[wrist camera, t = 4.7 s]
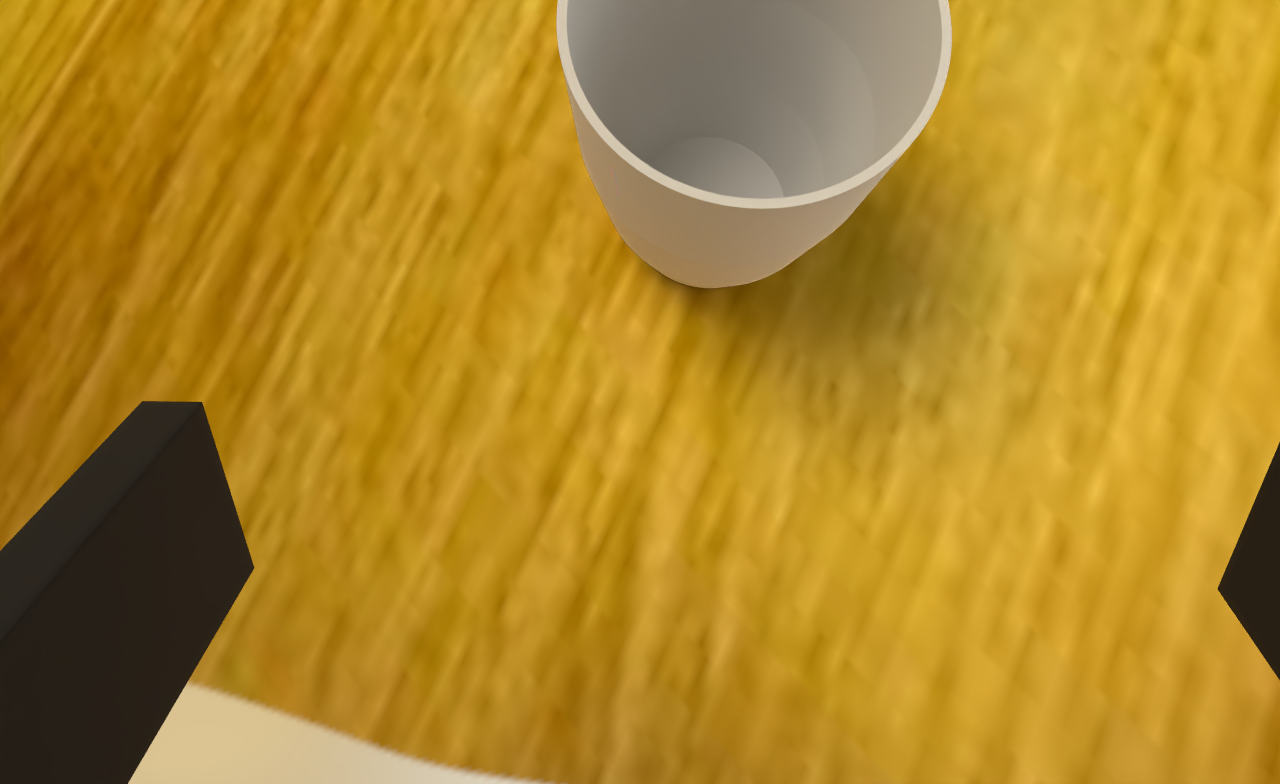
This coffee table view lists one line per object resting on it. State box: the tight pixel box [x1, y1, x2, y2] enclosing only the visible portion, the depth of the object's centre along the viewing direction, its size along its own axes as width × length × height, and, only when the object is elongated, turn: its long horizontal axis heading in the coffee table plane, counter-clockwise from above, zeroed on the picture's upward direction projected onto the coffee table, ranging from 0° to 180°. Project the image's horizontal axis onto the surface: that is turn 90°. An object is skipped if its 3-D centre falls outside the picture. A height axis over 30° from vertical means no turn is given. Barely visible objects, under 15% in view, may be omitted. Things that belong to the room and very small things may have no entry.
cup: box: [557, 0, 952, 288], centre depth 24 cm, size 8×8×10 cm
